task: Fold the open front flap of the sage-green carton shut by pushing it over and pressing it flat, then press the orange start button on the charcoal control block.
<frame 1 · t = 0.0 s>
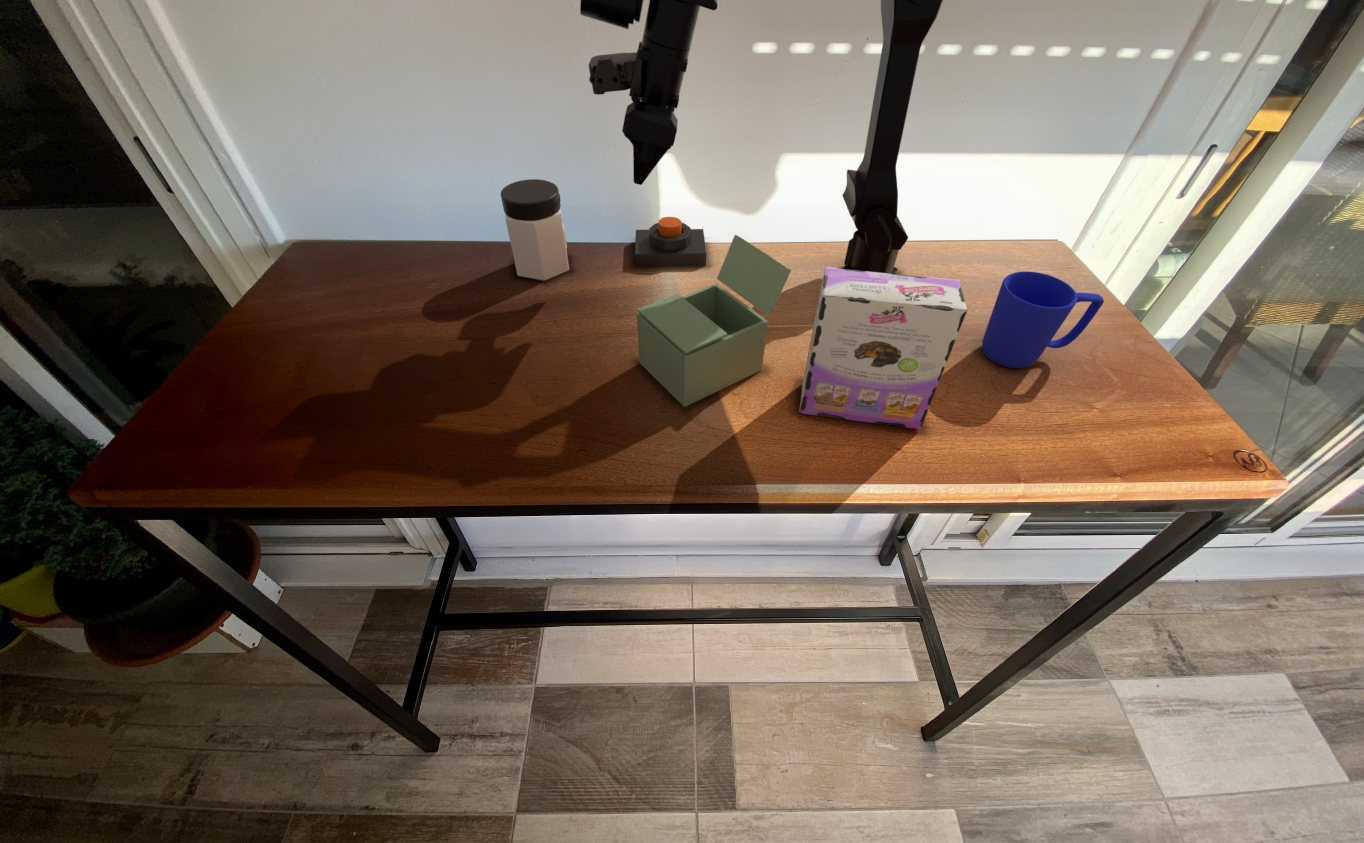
hand: (639, 169, 81), 15 cm above the table, tool pointing down, fingers open, 9 cm apart
flap: (752, 274, 71), point 11 cm above the table, hinge at 115.0°
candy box: (858, 407, 71), on the table
mug: (1021, 356, 78), on the table
jar: (543, 267, 93), on the table
carton: (700, 366, 76), on the table
start button: (669, 227, 92), point 5 cm above the table, slide at 0.2 cm
control block: (670, 253, 96), on the table
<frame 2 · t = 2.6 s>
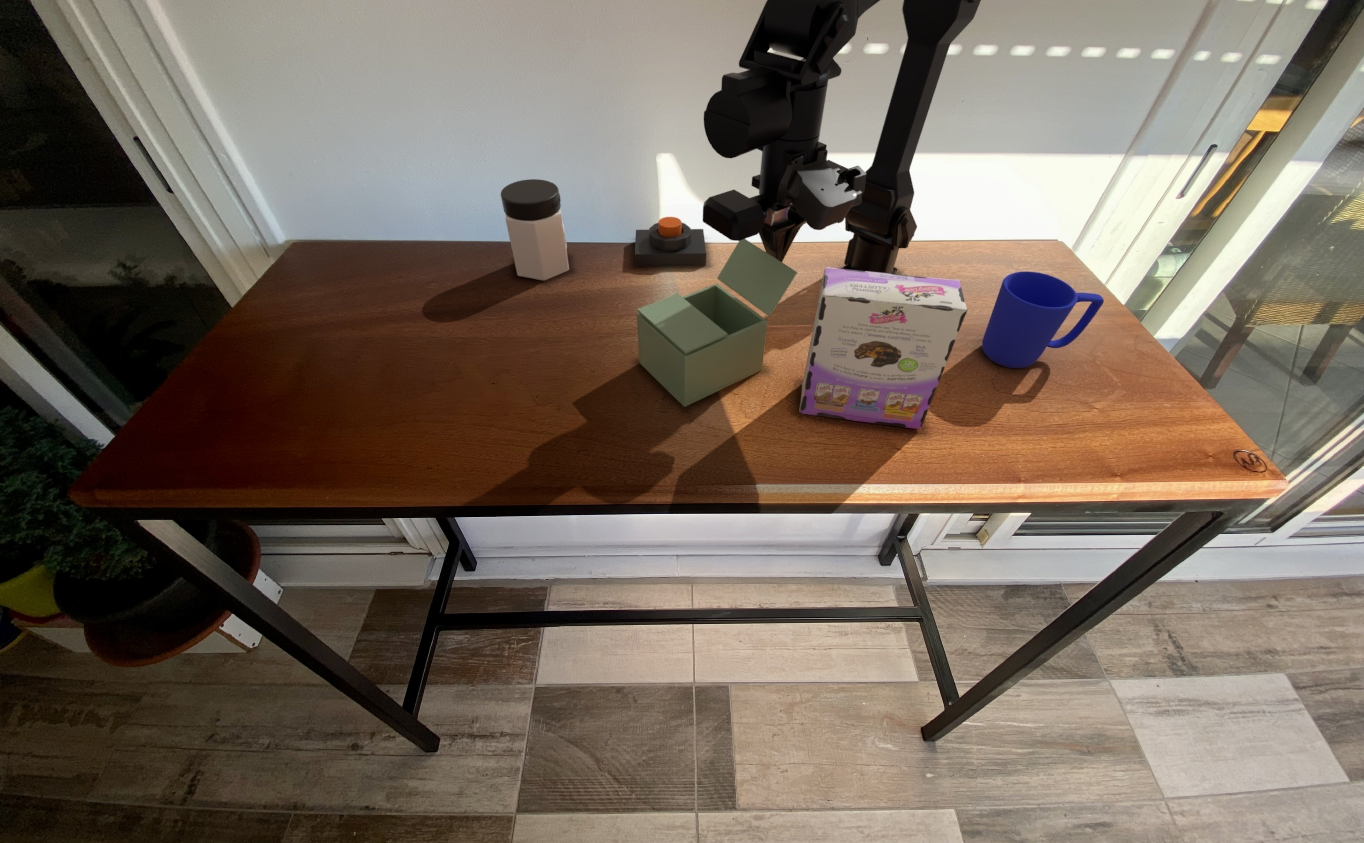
hand: (775, 266, 72), 11 cm above the table, tool pointing down, fingers closed
flap: (755, 275, 71), point 10 cm above the table, hinge at 127.2°, touching gripper
everything else where it was.
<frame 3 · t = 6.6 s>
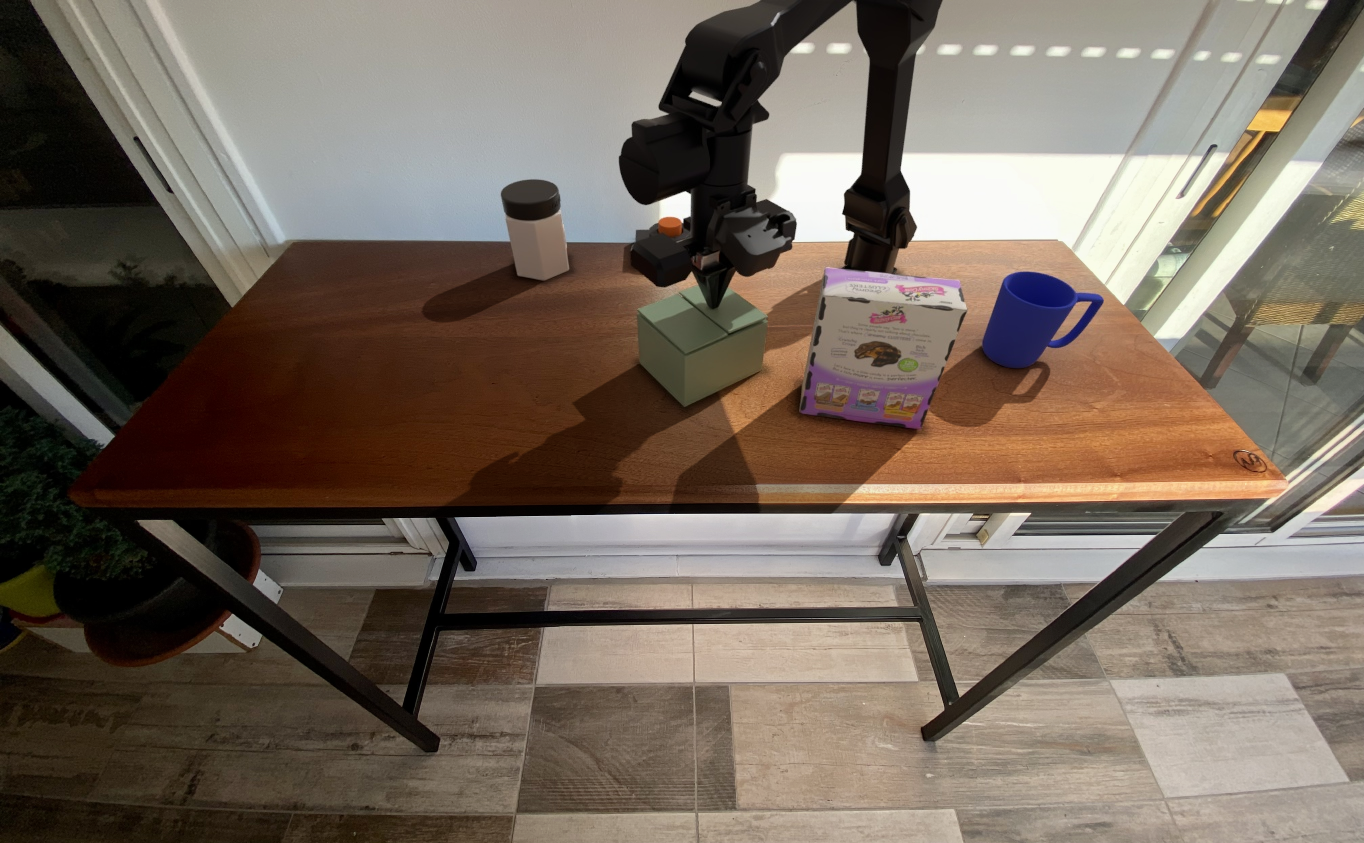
hand: (713, 306, 70), 8 cm above the table, tool pointing down, fingers closed, pressing on flap
flap: (722, 304, 71), point 8 cm above the table, hinge at 2.2°, touching gripper
everything else where it was.
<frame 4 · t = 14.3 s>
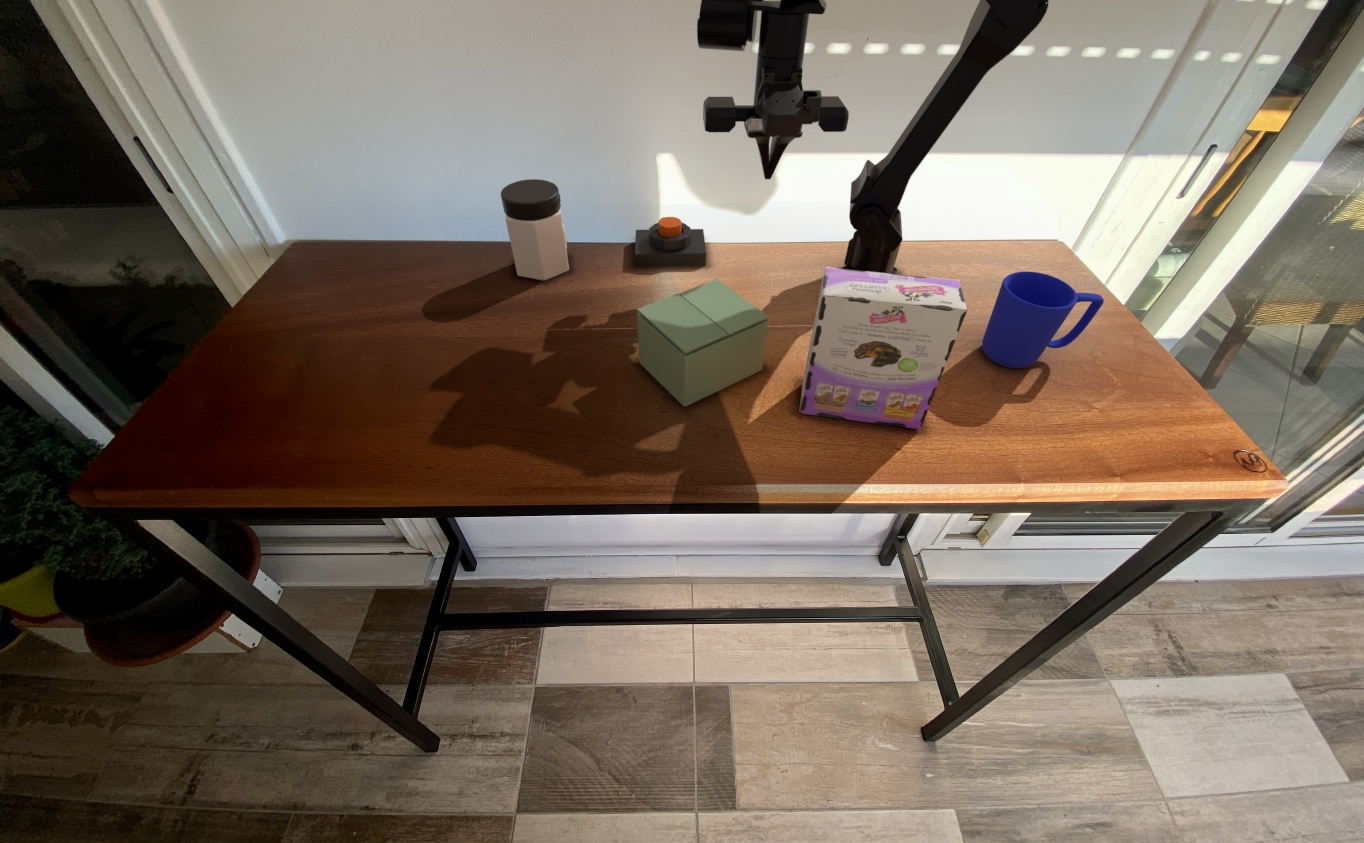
hand: (767, 178, 85), 13 cm above the table, tool pointing down, fingers closed
flap: (722, 305, 71), point 8 cm above the table, hinge at -0.4°
everything else where it was.
at the end: flap at +0° (first picture: +115°); start button pushed in 1.1 cm at the most during the clip, back to 0.2 cm at the end; start button slide at 0.2 cm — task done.
